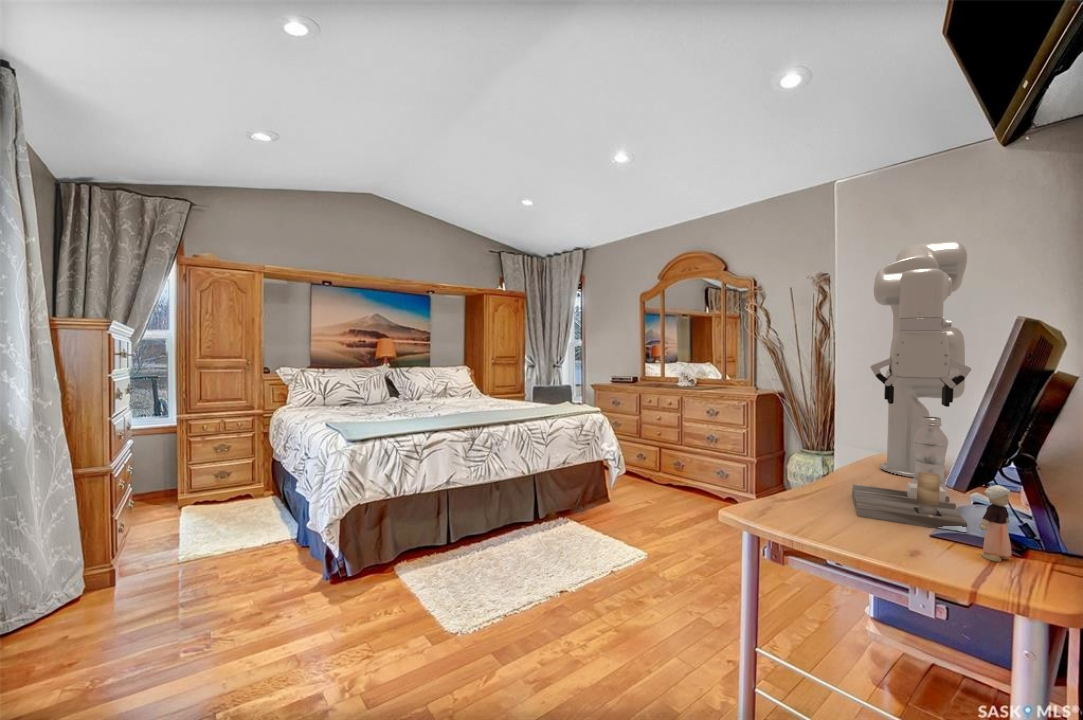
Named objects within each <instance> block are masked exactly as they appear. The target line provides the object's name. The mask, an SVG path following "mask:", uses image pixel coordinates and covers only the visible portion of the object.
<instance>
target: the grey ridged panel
mask: <svg viewBox="0 0 1083 720" xmlns="http://www.w3.org/2000/svg"><path fill="white" fill-rule="evenodd" d="M851 497H852V500H854V501H853V505H854V506H855V510H856V511H855V512H856V514H857V515H856V516H857V517H860V518H861V517H862V518H868V519H872V520H873V519H875V520H879V521H887V522H894V523H899V524H900V523H901V524H906V525H914V526H920V527H926V528H933V529H938V527H943V526H962V527H967V528H968V522H967V521H966V520H965V519H964V518H963V516H962V515H961V514H960V513H959V512H958V511H957V509H956V508H957V505H956V503H954V502H950V496H949V495H948V496H947V495H946V496H945V502H940V501H939V505H937V516H934V515H927V514H920V513H918V506H919V502H918V501H917V498H910V497H908V496H907V490H902V489H893V488H886V487H878V486H872V485H871V486H869V485H862V484H854V483H853V484H852V488H851Z"/></svg>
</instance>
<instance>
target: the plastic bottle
mask: <svg viewBox="0 0 1083 720" xmlns="http://www.w3.org/2000/svg"><path fill="white" fill-rule="evenodd" d="M921 424H922V427H921V428H920V429H919V430H918V431H917V432H916V434H915V435H914V438H913V439H914V448H915V460H916V461H915V472H914V477H913V478H912V480H911V481H912V482H911V483H914V484H917V483H918V472H929V473H935V474H938V475H940V487H942V488H943V489H944V490H945V492H946V493H947V487H945V486H946V483H945V482H946V481H945V461H946V454H947V452H948V446H949V439H948V437H947V435H946V433H945V432H944V431H943V430H942V429H941V427H942V417H937V416H922V417H921ZM945 496H947V494H946V495H945Z"/></svg>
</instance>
